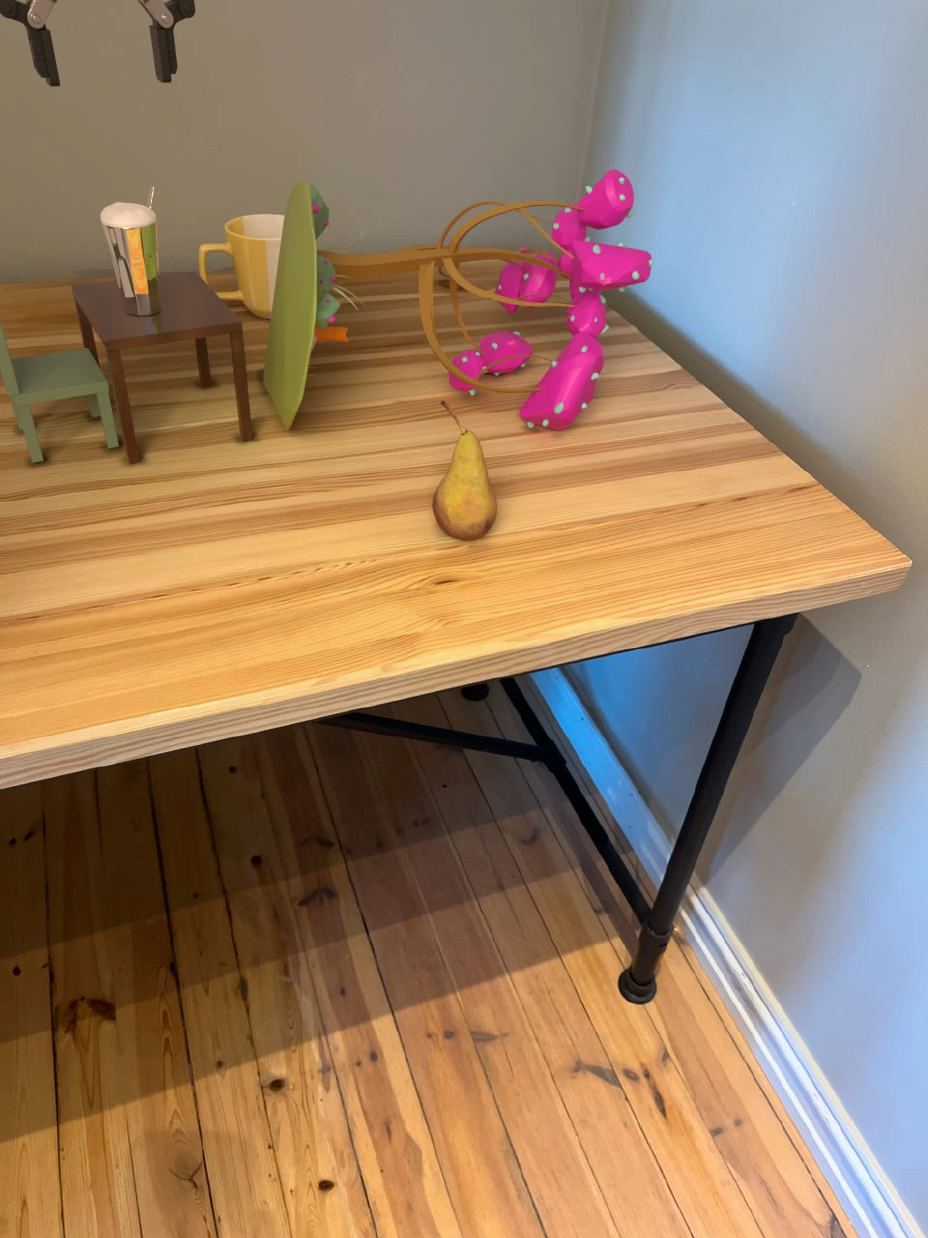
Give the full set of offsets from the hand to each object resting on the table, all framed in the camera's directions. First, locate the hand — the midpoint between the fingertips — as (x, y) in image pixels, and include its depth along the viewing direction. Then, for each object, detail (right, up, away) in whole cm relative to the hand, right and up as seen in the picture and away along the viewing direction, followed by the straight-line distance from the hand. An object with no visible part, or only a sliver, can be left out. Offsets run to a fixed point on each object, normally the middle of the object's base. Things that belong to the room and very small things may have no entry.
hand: (109, 82), depth 72 cm
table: (-1, -22, +20) cm, 30 cm away
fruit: (+28, -35, +8) cm, 46 cm away
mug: (+2, -4, +43) cm, 44 cm away
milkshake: (-1, -14, +12) cm, 18 cm away
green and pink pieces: (+26, -18, +28) cm, 42 cm away
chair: (-10, -25, +16) cm, 31 cm away
